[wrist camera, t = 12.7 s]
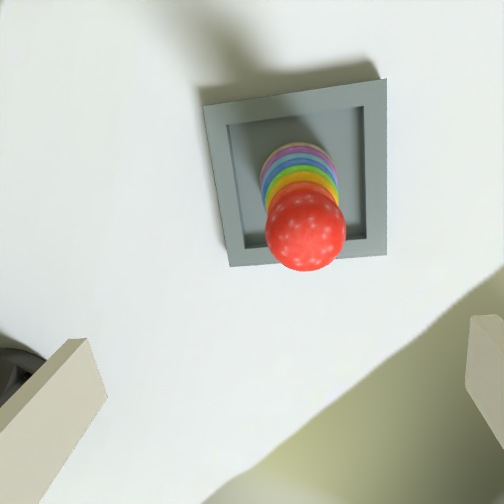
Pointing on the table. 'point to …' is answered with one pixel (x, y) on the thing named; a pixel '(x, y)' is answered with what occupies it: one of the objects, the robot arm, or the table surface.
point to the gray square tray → (310, 131)
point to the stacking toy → (302, 207)
